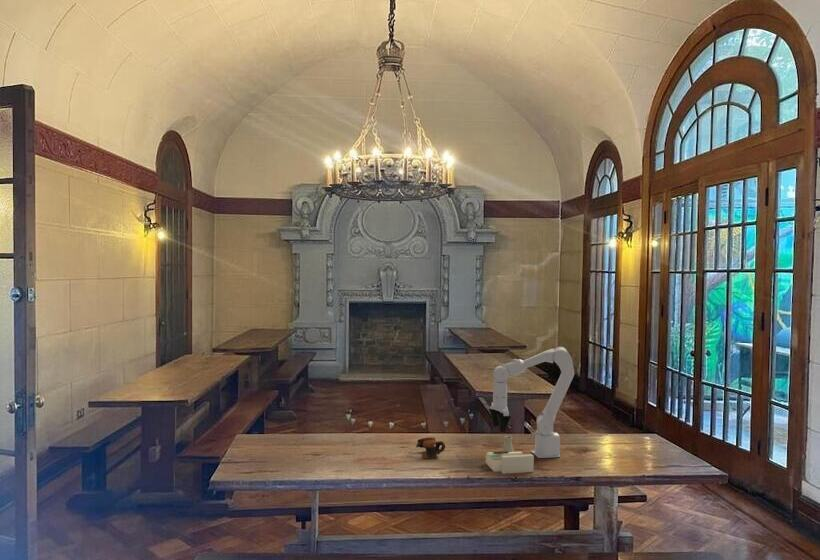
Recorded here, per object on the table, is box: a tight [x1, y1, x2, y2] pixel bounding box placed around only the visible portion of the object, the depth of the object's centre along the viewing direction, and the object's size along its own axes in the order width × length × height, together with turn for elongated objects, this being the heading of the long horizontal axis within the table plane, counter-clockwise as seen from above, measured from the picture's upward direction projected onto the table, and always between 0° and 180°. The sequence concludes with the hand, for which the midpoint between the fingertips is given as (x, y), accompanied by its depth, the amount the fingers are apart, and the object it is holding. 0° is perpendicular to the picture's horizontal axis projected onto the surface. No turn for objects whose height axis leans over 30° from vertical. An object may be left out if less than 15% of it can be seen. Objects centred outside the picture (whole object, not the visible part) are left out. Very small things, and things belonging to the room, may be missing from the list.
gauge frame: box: [485, 450, 535, 475], centre depth 220 cm, size 14×12×6 cm
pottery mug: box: [415, 436, 446, 460], centre depth 232 cm, size 12×10×8 cm
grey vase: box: [500, 435, 515, 457], centre depth 225 cm, size 7×7×10 cm
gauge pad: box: [493, 450, 524, 456], centre depth 221 cm, size 12×2×6 cm, turn 102°
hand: (499, 428), depth 238 cm, fingers open, 7 cm apart
